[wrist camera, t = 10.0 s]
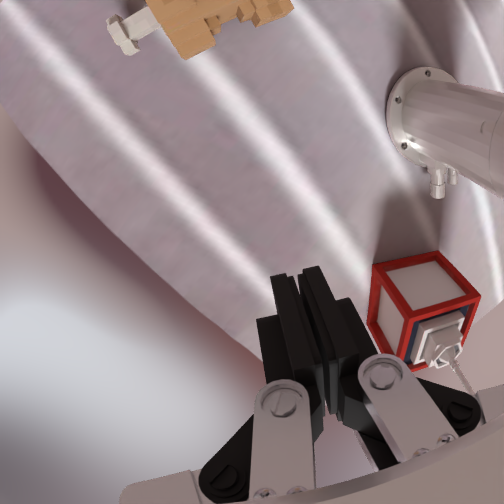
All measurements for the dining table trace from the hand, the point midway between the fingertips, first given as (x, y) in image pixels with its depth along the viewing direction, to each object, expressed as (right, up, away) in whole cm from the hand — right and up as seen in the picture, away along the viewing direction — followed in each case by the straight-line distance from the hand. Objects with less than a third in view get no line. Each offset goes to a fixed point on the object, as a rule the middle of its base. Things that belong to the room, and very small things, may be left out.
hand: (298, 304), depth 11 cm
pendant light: (+21, -4, +35) cm, 41 cm away
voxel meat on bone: (-6, +27, +14) cm, 30 cm away
